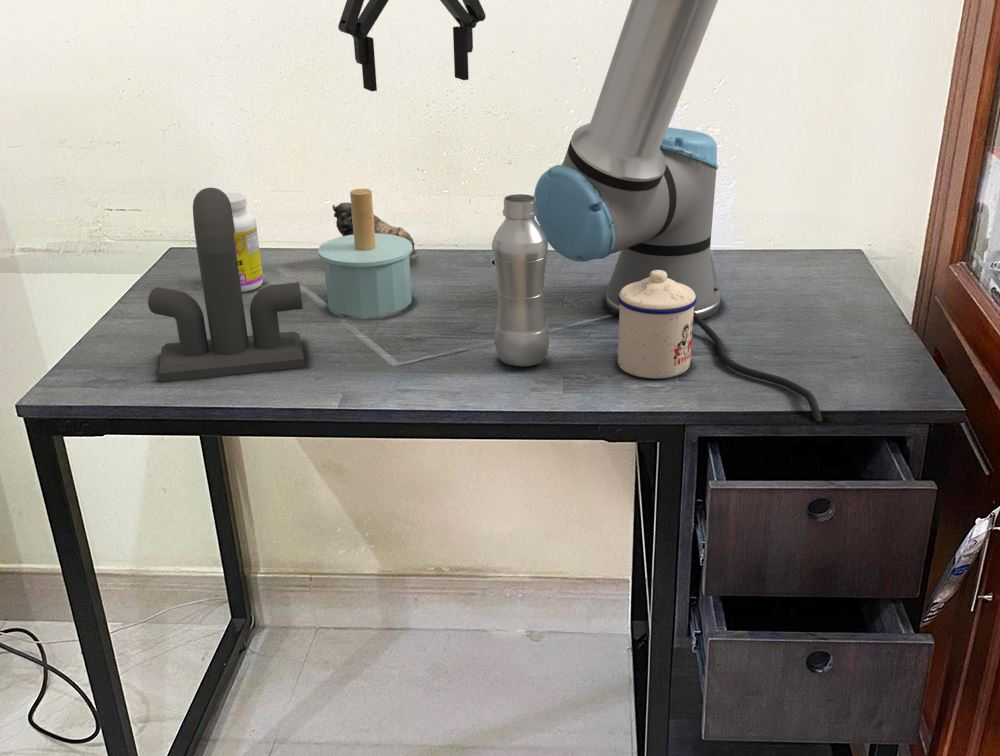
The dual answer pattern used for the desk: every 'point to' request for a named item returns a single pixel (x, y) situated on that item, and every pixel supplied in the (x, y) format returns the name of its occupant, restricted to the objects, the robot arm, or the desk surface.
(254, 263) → the supplement bottle
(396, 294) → the bowl
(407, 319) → the desk surface
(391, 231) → the brown striped lumpy figure
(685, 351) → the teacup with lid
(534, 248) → the silver metal bottle
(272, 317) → the faucet
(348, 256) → the lid
